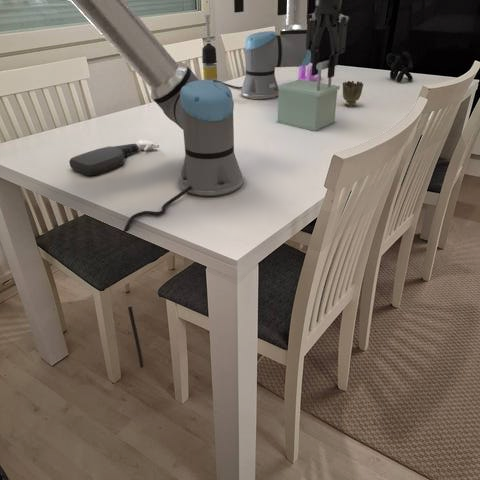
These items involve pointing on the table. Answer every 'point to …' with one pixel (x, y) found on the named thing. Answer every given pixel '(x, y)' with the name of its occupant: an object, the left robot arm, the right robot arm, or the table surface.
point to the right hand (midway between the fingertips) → (322, 75)
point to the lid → (311, 84)
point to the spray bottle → (106, 157)
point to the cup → (352, 92)
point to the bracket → (309, 74)
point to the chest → (306, 109)
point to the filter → (209, 57)
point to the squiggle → (399, 66)
